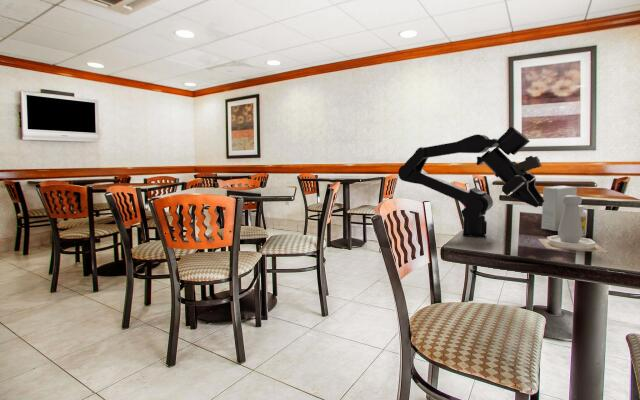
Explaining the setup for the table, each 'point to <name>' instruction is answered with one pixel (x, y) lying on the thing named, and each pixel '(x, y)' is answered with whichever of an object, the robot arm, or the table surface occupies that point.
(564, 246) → the dish
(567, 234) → the salt shaker
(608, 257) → the table surface
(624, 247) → the table surface
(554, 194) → the skincare box
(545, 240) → the placemat
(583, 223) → the supplement bottle
